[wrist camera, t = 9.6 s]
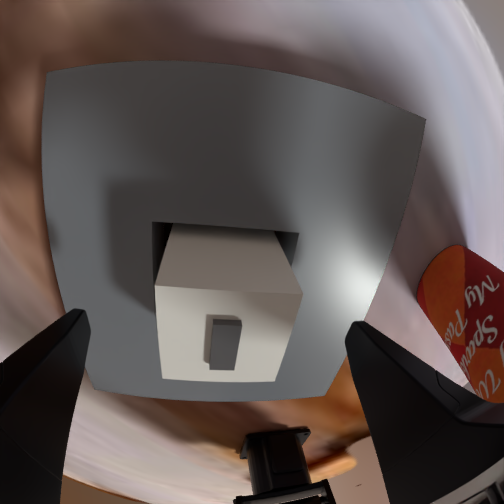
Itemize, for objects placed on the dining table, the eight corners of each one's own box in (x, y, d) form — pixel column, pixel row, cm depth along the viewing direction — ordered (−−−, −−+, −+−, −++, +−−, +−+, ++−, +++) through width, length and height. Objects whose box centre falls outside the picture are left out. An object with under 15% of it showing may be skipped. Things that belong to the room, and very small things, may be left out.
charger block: (253, 288, 15) (275, 386, 9) (175, 283, 14) (161, 384, 9) (266, 216, 13) (305, 299, 7) (178, 208, 12) (153, 291, 7)
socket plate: (311, 361, 18) (324, 395, 16) (104, 353, 16) (94, 389, 13) (386, 114, 11) (426, 119, 9) (81, 77, 9) (47, 72, 6)
